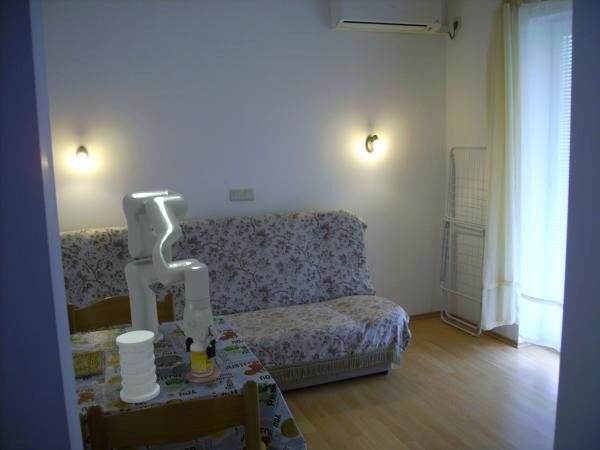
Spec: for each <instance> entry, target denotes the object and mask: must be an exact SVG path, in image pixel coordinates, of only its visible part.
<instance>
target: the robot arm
mask: <svg viewBox="0 0 600 450" xmlns="http://www.w3.org/2000/svg"><path fill="white" fill-rule="evenodd" d="M122 210H123V212H124V213H123V214H124V217H125V218H126V219H125V220H126V222H127V244H128V245H127V247H128V253H129V255H130V256H131V258H134V259H138V260H133V261H132V262H129V263H127V264H126V265H125V267H124V276H125V280H126V283H127V284H126V285H127V288H128V295H129V305H130V316H131V327H132V328H131V329H130V328H129V330H128V332H132V331H151V332H153V333H154V337H155V338H154V340H153V341H152V343H153V345H155V344H158V343H161V341H163V340H164V335H163V334H162V333H161V332H159V321H158V310H157V300H156V298H157V297H156V293H155V292H154V290H153V289H151V287H150V286H149V285H150V284H155V283H161V285H163V286H165V287H173V286H177V285H182V284H184V294H185V295H184V296H185V297H184V298H185V305H184V309H183V318H182V323H181V324H180V325H179V327H180V330H181V333H182V335H183V339H184V340H185V348H186V349H185V351H186V353H191V352H190V346H191V344H192V343H193V342H194V341H193V339H196V340H200V341H204V340H205V341H206V343H207V345H208V347H207V358H208V359H211V358H212V359H213V358H215V357H216V356H217V352H216V350H217V349H216V345H217V344H218V343H219V340H220V337H221V333H219V331H217V329H215V321H214V316H213V310H212V307H211V299H210V281H209V280H210V279H209V270H208V269H209V268H208V266H207V265H206V264H205V263H203V262H202V263H201V262H200V261H199V260H198V259H196V258H187V259H182V260H181V259H180V260H175V261H173V259H172V258H173V257H172V256H173V254H172V253H173V252H172V250H173V249H172V245H173V243H175V242H176V241H178V240H179V239H180V237H182V235H183V231H182V227H181V226H180V223H179V221H178V219H179V218H184V217H186V215H188V212H189V204H188V201H187V199H186V197H185V196H184V195H183V194H181V193H179V192H177V191H174V190H171V189H169V188H162V189H161V188H160V189H148V190H136V191H131V192H128V193H126V194H125V195H124V196H123V198H122ZM177 218H178V219H177ZM152 229H153V230H152ZM151 257H152V258H151ZM143 258H145V259H143Z"/></svg>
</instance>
